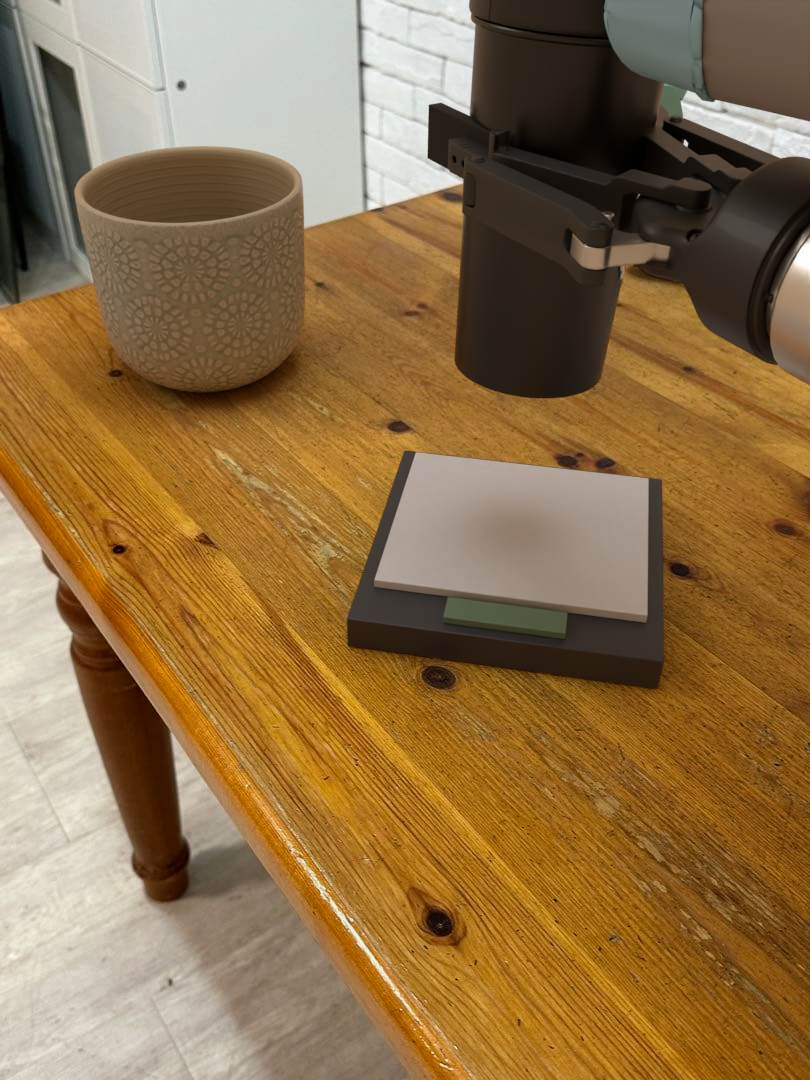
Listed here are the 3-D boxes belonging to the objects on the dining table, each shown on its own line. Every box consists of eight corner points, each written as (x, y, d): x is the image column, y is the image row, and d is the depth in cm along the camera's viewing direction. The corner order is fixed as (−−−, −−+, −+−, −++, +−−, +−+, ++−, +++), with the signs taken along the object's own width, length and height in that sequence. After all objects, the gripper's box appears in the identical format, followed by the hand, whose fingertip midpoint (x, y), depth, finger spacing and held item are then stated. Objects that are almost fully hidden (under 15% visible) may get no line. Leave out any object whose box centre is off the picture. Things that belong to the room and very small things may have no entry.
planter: (304, 416, 82) (293, 225, 72) (87, 415, 81) (47, 224, 72) (317, 318, 95) (309, 146, 85) (130, 317, 95) (101, 144, 85)
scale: (657, 504, 73) (663, 471, 71) (657, 689, 59) (665, 654, 57) (404, 475, 75) (404, 442, 74) (347, 646, 62) (346, 610, 60)
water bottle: (635, 408, 56) (739, -90, 43) (446, 403, 55) (493, -106, 42) (597, 331, 64) (674, -106, 51) (432, 325, 64) (468, -120, 51)
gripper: (629, 430, 39) (332, 223, 54) (953, 315, 46) (612, 163, 62) (662, 234, 34) (326, 68, 49) (1016, 143, 42) (630, 25, 57)
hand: (486, 121), depth 56 cm, fingers closed on water bottle, 6 cm apart
